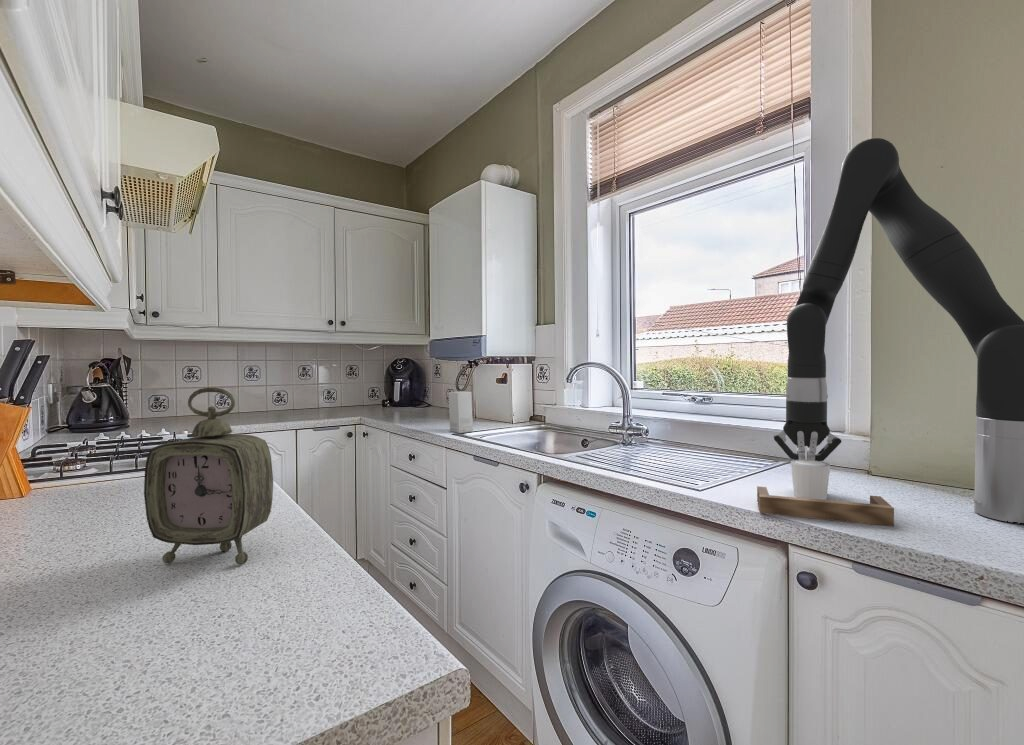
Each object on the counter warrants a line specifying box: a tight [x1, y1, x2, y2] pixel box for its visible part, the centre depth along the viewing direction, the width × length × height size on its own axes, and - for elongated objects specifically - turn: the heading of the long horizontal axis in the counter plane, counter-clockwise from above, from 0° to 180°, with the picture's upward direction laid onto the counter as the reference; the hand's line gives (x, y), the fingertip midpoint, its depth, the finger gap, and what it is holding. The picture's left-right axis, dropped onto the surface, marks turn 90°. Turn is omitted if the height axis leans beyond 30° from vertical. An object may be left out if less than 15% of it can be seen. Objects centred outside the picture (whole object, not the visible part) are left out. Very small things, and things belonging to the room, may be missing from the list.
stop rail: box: [756, 485, 895, 527], centre depth 90 cm, size 20×8×3 cm, turn 67°
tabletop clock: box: [143, 387, 274, 565], centre depth 73 cm, size 14×9×25 cm, turn 87°
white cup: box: [790, 459, 831, 500], centre depth 100 cm, size 7×7×7 cm
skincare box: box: [448, 390, 474, 434], centre depth 193 cm, size 8×7×16 cm
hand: (805, 479), depth 106 cm, fingers closed
